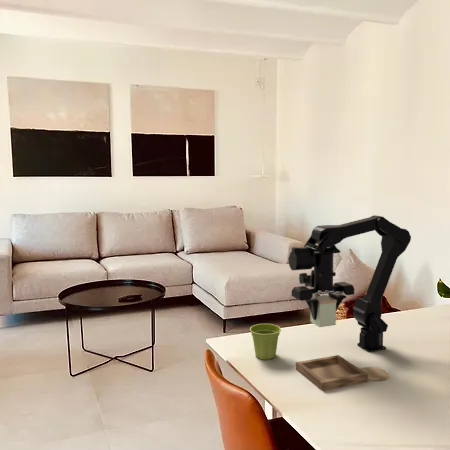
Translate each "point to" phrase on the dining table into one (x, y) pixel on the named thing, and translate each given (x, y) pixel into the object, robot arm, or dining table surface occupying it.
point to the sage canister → (325, 311)
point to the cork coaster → (375, 373)
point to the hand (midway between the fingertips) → (322, 318)
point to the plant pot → (265, 340)
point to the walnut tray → (331, 372)
